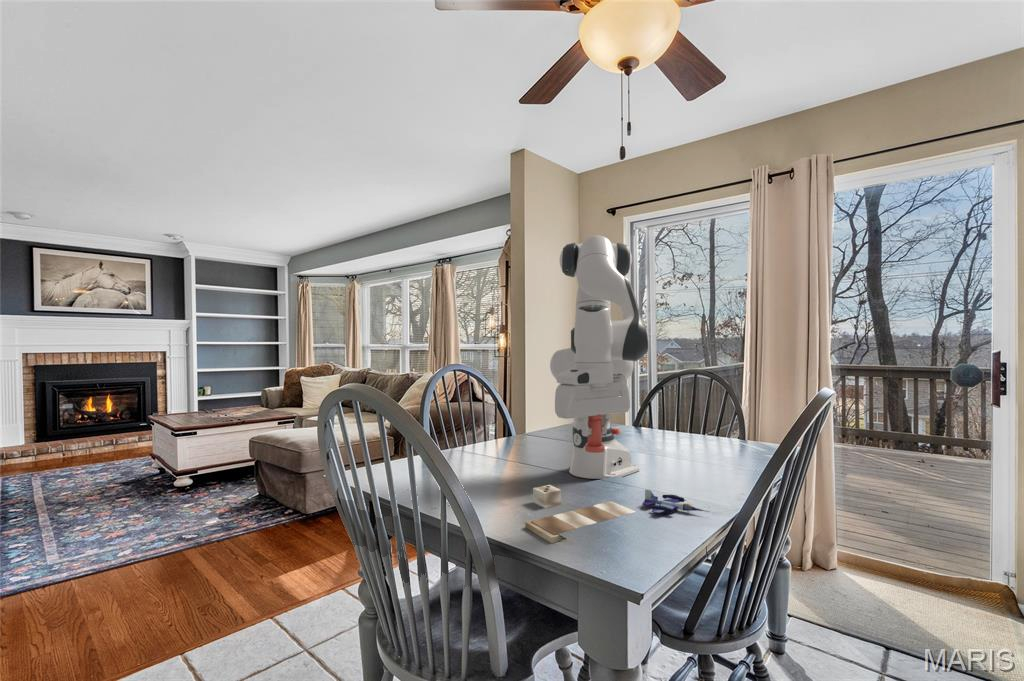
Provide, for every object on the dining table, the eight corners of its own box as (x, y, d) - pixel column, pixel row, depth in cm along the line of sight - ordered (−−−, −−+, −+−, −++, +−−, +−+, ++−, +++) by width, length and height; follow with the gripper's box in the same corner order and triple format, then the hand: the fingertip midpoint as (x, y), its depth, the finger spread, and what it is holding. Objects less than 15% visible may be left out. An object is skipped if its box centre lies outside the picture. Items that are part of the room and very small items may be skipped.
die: (549, 504, 123) (549, 484, 123) (561, 510, 119) (561, 489, 119) (533, 508, 121) (532, 487, 121) (544, 514, 117) (544, 493, 116)
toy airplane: (715, 524, 109) (715, 508, 109) (655, 528, 107) (655, 511, 107) (688, 504, 122) (687, 490, 122) (634, 507, 120) (634, 493, 120)
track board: (612, 505, 122) (612, 499, 122) (641, 517, 113) (641, 511, 113) (525, 527, 108) (525, 521, 108) (551, 543, 100) (551, 536, 100)
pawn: (595, 447, 115) (595, 405, 115) (608, 451, 111) (608, 407, 111) (581, 449, 112) (580, 407, 112) (594, 453, 108) (593, 409, 109)
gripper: (616, 372, 120) (617, 428, 120) (550, 375, 109) (551, 437, 109) (635, 373, 115) (636, 432, 114) (568, 377, 104) (568, 442, 104)
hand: (594, 434), depth 112 cm, fingers closed on pawn, 3 cm apart
